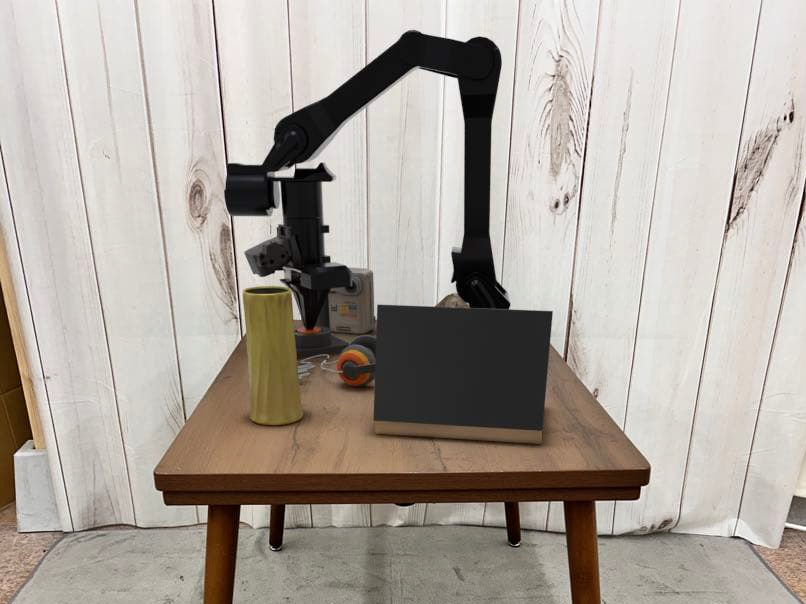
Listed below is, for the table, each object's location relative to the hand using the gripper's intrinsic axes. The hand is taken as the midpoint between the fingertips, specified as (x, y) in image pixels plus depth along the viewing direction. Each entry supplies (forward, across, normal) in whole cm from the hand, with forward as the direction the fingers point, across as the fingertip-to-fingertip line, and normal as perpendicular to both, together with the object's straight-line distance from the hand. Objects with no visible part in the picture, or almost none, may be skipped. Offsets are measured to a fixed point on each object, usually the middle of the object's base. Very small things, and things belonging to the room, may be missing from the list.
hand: (309, 329), depth 117 cm
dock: (+3, 0, 0) cm, 3 cm away
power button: (+2, 0, 0) cm, 2 cm away
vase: (+3, +27, -16) cm, 32 cm away
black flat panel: (-4, +42, -1) cm, 42 cm away
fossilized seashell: (+3, -1, +26) cm, 26 cm away
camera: (+3, -10, +10) cm, 15 cm away
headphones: (+3, +17, -1) cm, 18 cm away
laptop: (+3, +39, +2) cm, 39 cm away
